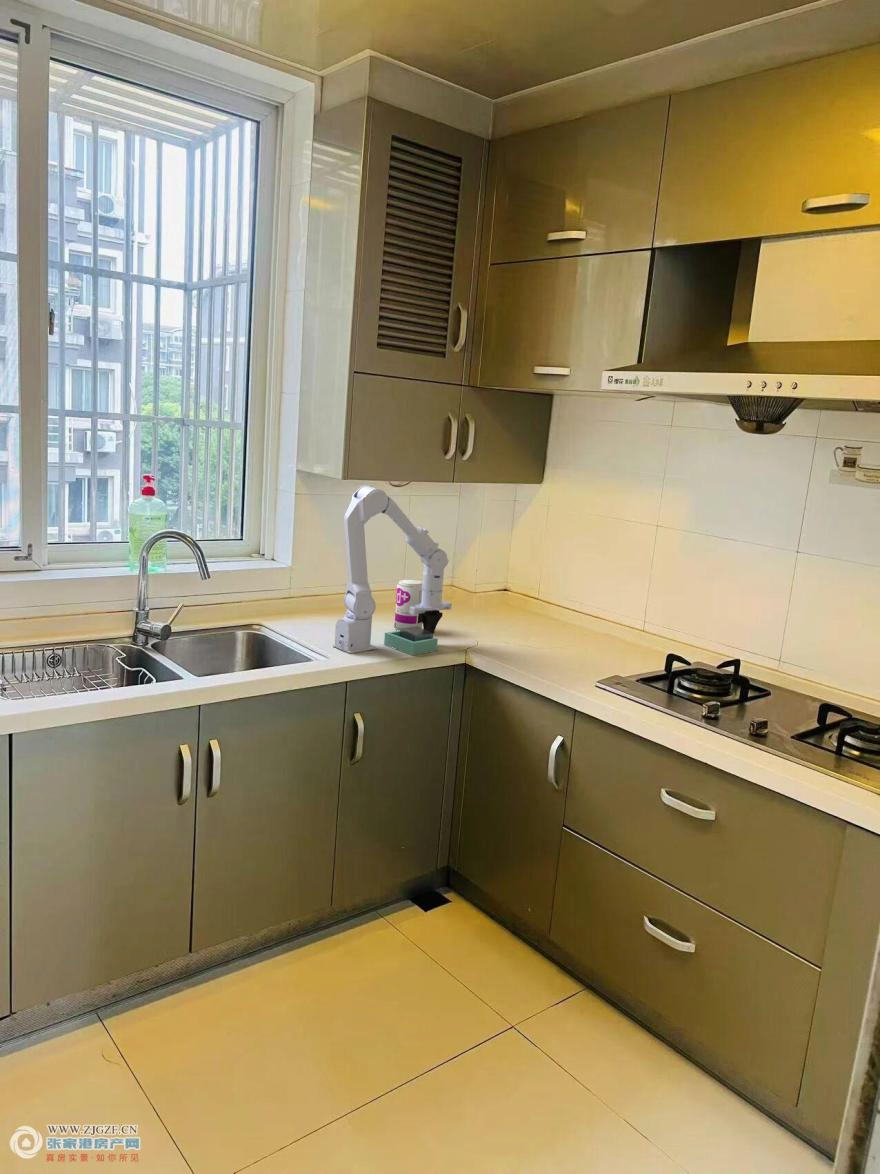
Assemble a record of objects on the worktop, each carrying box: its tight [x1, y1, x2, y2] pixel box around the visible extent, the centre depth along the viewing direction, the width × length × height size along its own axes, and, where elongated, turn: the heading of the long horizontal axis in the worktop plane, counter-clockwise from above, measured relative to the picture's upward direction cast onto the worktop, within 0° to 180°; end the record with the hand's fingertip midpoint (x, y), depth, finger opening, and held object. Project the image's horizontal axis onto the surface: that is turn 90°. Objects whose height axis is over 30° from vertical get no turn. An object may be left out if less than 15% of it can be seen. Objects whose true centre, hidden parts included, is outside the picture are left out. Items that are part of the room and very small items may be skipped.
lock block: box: [400, 626, 434, 642], centre depth 247 cm, size 6×8×4 cm
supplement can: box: [393, 578, 423, 631], centre depth 262 cm, size 8×8×15 cm
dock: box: [383, 630, 439, 656], centre depth 245 cm, size 9×12×4 cm
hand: (428, 636), depth 249 cm, fingers closed
